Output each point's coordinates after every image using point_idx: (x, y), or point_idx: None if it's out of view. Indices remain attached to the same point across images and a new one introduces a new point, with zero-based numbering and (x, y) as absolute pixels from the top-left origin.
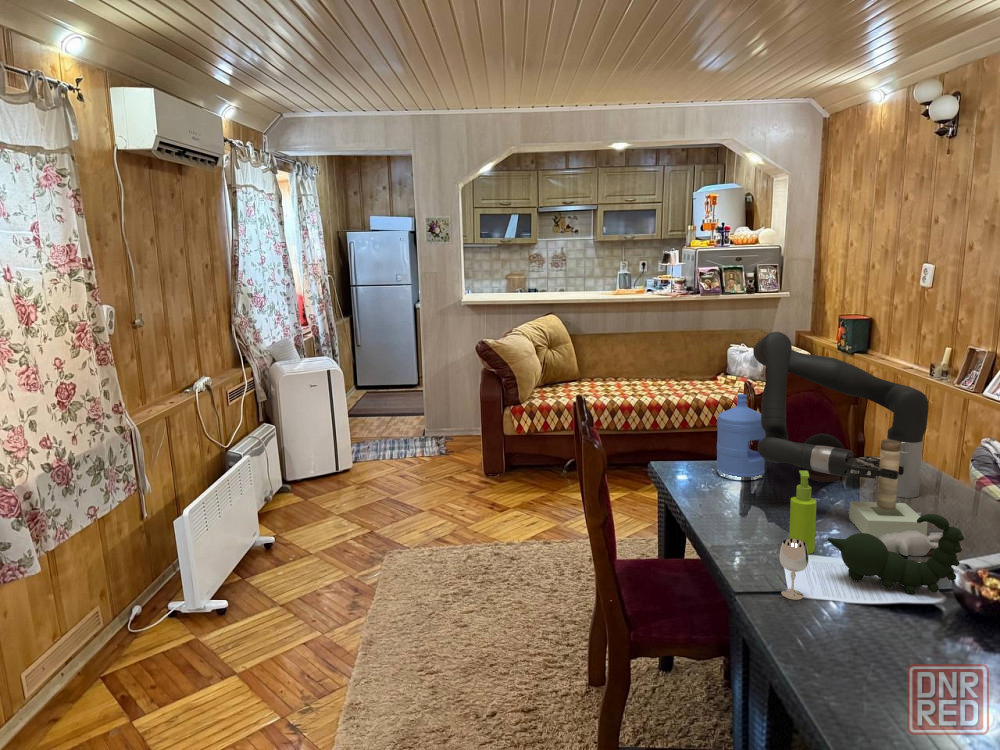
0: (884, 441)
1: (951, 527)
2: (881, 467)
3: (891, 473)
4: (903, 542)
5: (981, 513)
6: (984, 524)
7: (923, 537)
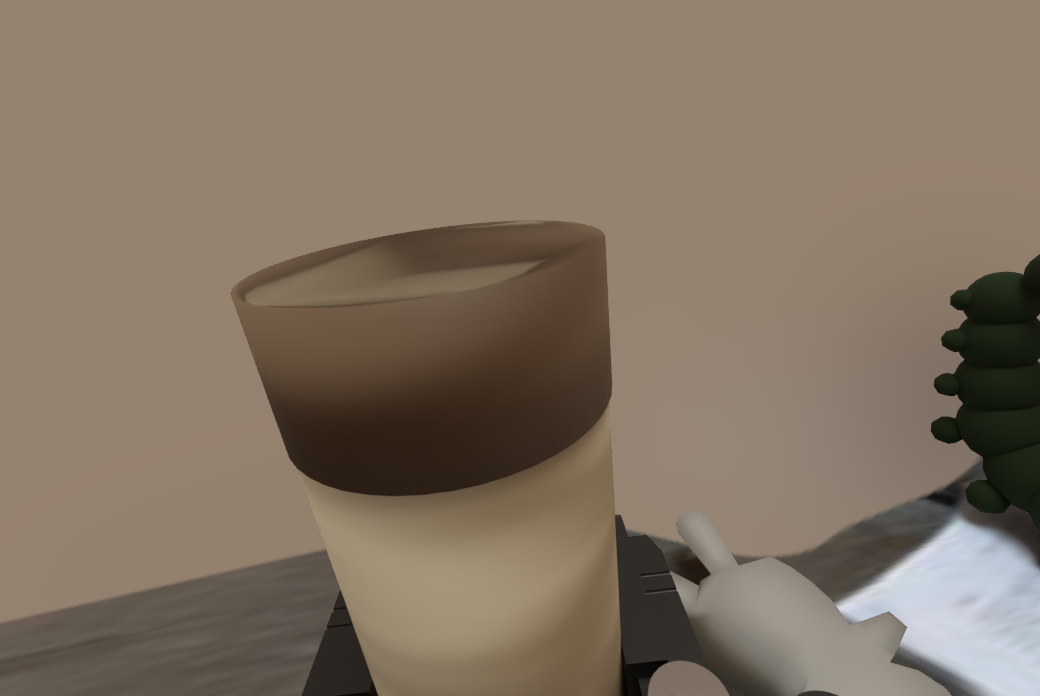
0: (470, 271)
1: (1019, 273)
2: (610, 690)
3: (662, 562)
4: (878, 635)
5: (83, 629)
6: (235, 585)
7: (770, 562)
